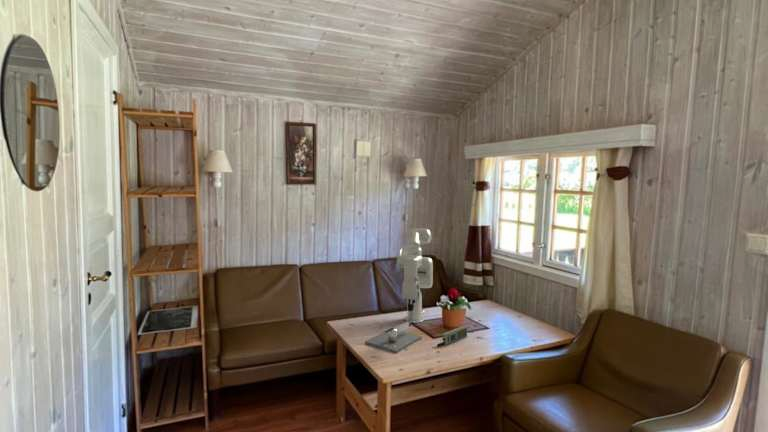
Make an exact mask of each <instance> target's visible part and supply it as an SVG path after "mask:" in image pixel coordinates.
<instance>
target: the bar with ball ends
mask: <svg viewBox="0 0 768 432" xmlns="http://www.w3.org/2000/svg"><path fill="white" fill-rule="evenodd" d="M411 326H412V323H411V322H407V321H405V322H402V323H401V324H399V325H397V326H395V327H389V328H388V329H387V330H385V331H384V332H386V333H387V332H388V341H389V342H392V343H393V342H397V334H398V333H399V332H401V331H406V330H407V329H409V328H411Z"/></svg>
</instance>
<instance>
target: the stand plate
mask: <svg viewBox="0 0 768 432" xmlns="http://www.w3.org/2000/svg"><path fill="white" fill-rule="evenodd" d="M422 338H423V336H422V335H419V334H415V333H412V332H407V331H405V330H403V331H401V332H399V333H398V334H397V342H393V343H392V342H389V341H388V332H387V333H386V332H385V331H384V332H381V333H378V334H377V335H375V336H373V337H371V338H369V339H367V340H365V341H364V342H365V343H364V344H365V345H368V346H371V347H375V348H378V349H380V350H384V351H387V352H391V353H394V354H398V353H401V352H402V351H403V350H405V349H406V348H408V347H410V346H411V345H413V344H415V343H417V342H419V341H420V340H421V339H422Z"/></svg>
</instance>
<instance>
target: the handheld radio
mask: <svg viewBox="0 0 768 432" xmlns="http://www.w3.org/2000/svg"><path fill="white" fill-rule="evenodd" d="M465 338H468V325H462V326H460V327H457V328H454V329H451V330H449V331H446V332H443V333H442V342H440V343H437V345H436V346H437V347H440V346H443V345H445V346H446V345H449V344H452V343H455V342H457V341H460V340H462V339H465Z"/></svg>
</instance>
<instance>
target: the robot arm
mask: <svg viewBox="0 0 768 432" xmlns="http://www.w3.org/2000/svg"><path fill="white" fill-rule="evenodd" d="M404 239H405V244H404V245H403V246H401V247H400V248H399V250H398V252H397V256H396V257H397V259H396V262H397V263H396V264H397V266H398V267H399V268H402V269H404V270H403V271H404V272H403V273H404V274H403V281H402V286H401V289H402V290H401V297H402V300H404V301H405V302H406V304H407V314H406V315H407V316H405V317H404V320H405V322H411V324H412V323H413V324H415V323H417V324H418V323H419V324H420V323H422V322H424V321H425V318H424V317H423V315H424V314H425V310H423V311H422V309H423V305H422V304H423V303H422V302H423V301H422V299H423V296H422V295H423V294H422V291H421V289H430V288H432V287H433V284H434V277H433V276H434V275H433V274H434V265H433V264H434V262H433V259H432V258H431V257H427V256H423V255H422V252H423V251H422V247H421V244H425V245H426V244H430V243H431V242H432V232H431V231H430V229H428V228H425V227H424V228H421V227H420V228H419V227H418V228H416V227H415V228H410V229H409V230H407V231H406V232H405V233H404ZM418 272H424V273H418Z"/></svg>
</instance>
